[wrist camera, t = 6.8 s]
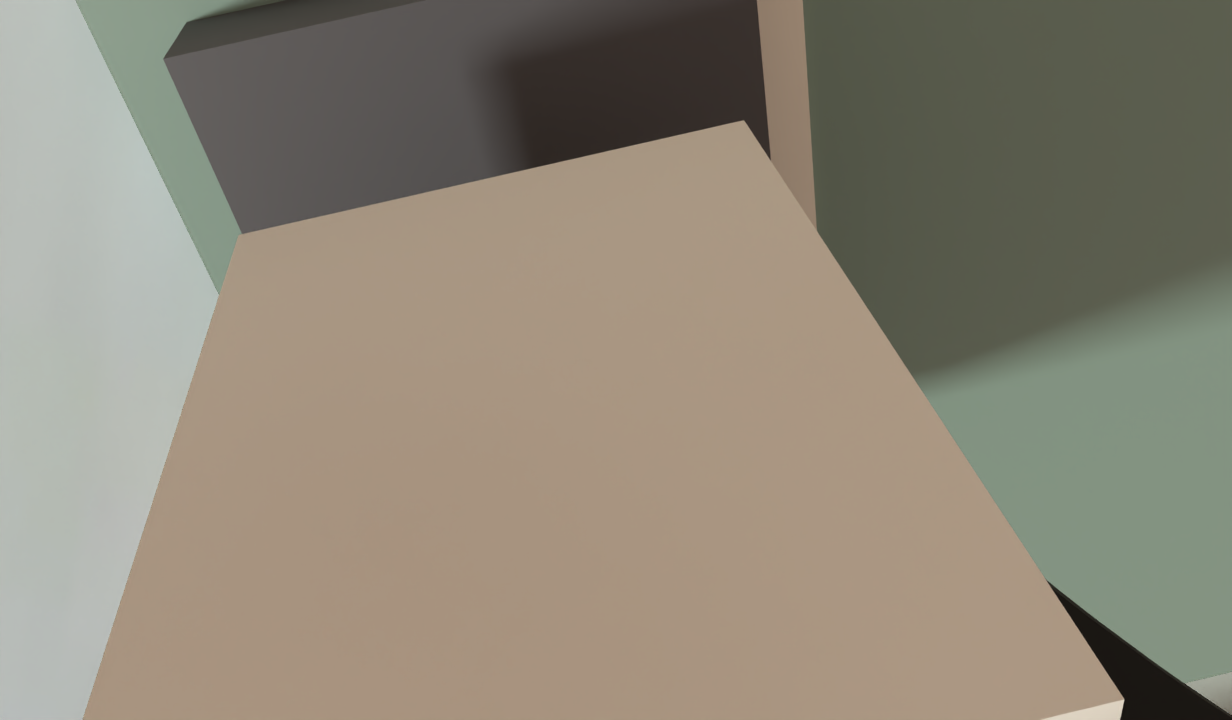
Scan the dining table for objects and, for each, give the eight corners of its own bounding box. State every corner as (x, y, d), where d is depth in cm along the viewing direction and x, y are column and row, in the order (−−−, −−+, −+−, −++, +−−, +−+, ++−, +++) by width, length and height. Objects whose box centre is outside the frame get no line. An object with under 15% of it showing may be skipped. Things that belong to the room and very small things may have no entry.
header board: (1364, 596, 23) (1577, 814, 18) (487, 806, 22) (501, 1078, 18) (1775, -400, 12) (2505, -421, 8) (99, -29, 11) (-91, 160, 7)
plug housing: (796, 626, 13) (1014, 1211, 8) (452, 707, 13) (467, 1348, 8) (744, 120, 9) (1126, 698, 4) (238, 235, 9) (3, 970, 4)
